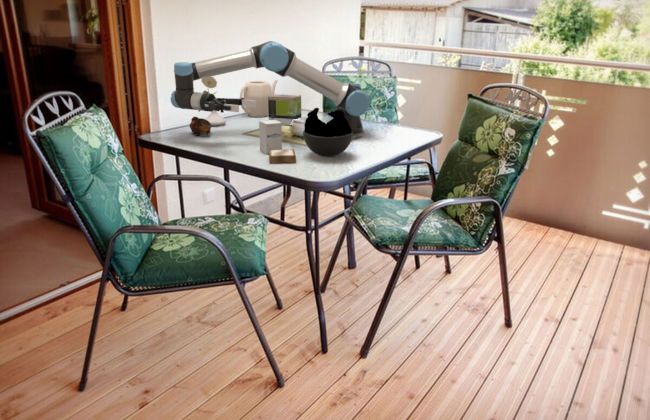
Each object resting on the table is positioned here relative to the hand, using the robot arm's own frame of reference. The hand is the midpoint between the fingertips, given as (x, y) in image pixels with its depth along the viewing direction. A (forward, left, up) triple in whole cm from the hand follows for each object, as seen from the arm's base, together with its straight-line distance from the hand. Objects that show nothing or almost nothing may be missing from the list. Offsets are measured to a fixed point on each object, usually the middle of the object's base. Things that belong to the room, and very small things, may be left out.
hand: (247, 106), depth 205 cm
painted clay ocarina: (+23, -29, -18) cm, 41 cm away
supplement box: (-9, +5, -18) cm, 21 cm away
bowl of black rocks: (-32, +14, -18) cm, 39 cm away
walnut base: (-13, +19, -18) cm, 29 cm away
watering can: (-5, -77, -18) cm, 79 cm away
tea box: (-18, -53, -18) cm, 59 cm away
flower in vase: (+19, -52, -18) cm, 58 cm away
